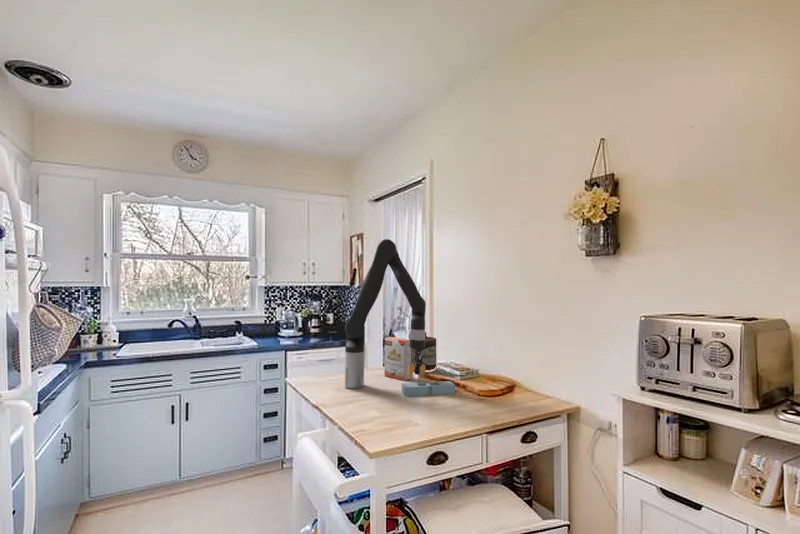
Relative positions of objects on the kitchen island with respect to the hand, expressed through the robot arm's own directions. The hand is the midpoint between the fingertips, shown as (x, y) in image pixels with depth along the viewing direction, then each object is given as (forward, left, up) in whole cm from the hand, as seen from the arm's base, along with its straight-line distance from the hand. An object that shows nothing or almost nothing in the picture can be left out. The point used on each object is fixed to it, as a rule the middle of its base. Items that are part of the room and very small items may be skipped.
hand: (416, 373), depth 208 cm
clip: (0, 0, -2) cm, 2 cm away
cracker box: (-6, +19, -7) cm, 21 cm away
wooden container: (+12, +33, -7) cm, 36 cm away
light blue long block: (+3, -10, -7) cm, 12 cm away
